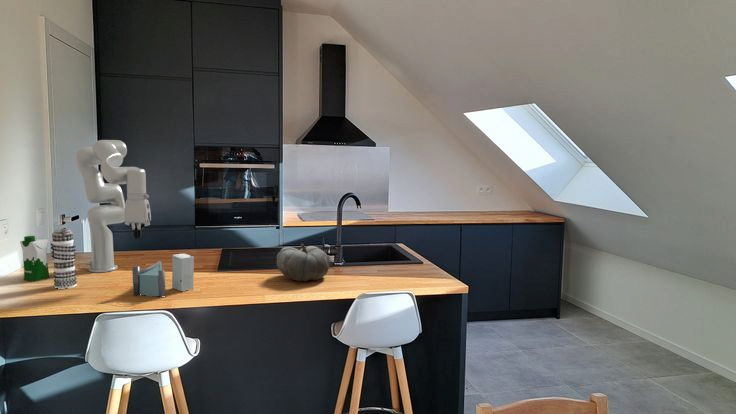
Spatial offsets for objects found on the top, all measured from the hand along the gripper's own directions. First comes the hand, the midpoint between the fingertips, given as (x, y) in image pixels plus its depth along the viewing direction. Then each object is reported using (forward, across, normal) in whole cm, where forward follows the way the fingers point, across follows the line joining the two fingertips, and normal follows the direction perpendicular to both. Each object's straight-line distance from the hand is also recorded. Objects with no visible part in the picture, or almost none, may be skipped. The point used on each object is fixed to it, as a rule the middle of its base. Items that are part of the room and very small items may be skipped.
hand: (138, 238), depth 225 cm
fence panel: (+20, -14, +18) cm, 30 cm away
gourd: (+20, -72, -14) cm, 76 cm away
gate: (+19, -8, +6) cm, 22 cm away
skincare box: (+20, -22, +7) cm, 31 cm away
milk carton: (+22, +49, -4) cm, 54 cm away
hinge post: (+20, -7, +17) cm, 27 cm away
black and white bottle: (+22, +29, +7) cm, 37 cm away
